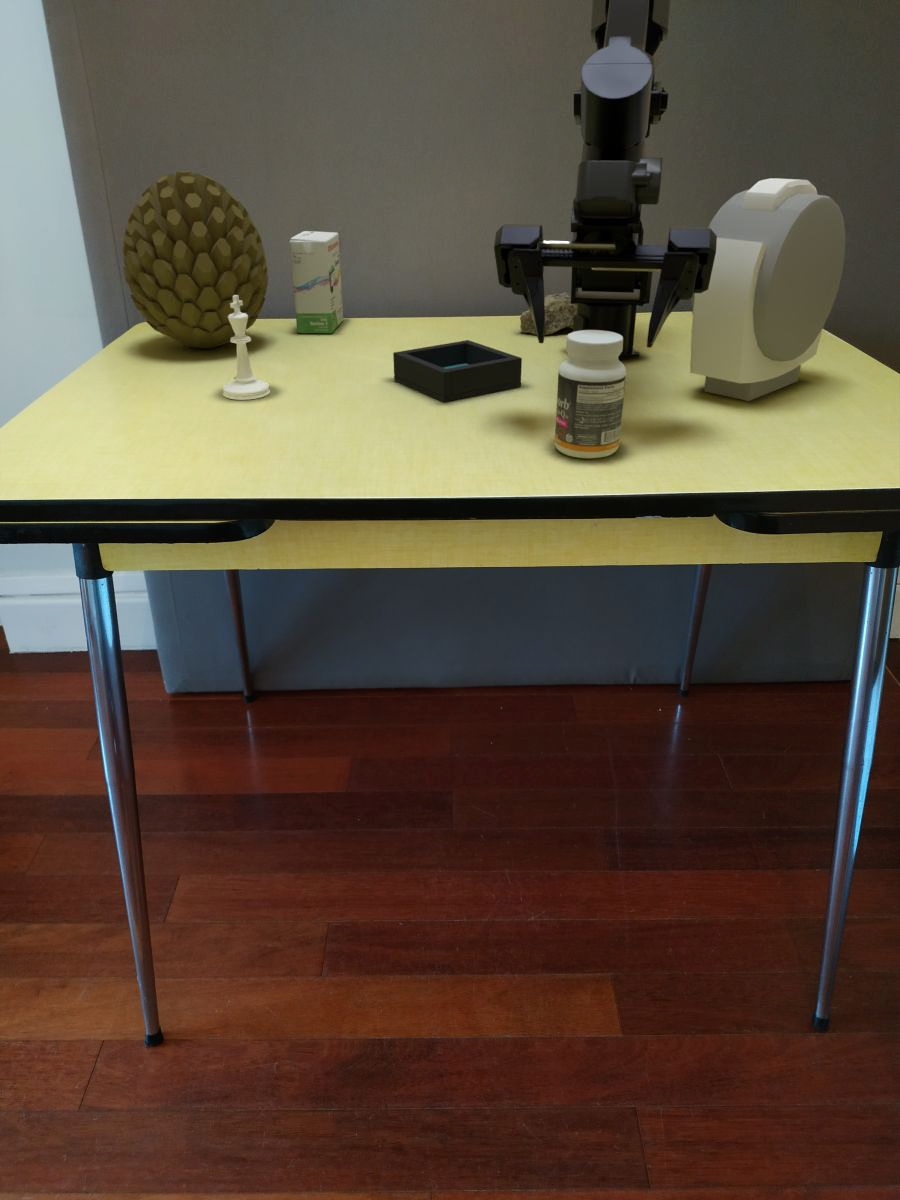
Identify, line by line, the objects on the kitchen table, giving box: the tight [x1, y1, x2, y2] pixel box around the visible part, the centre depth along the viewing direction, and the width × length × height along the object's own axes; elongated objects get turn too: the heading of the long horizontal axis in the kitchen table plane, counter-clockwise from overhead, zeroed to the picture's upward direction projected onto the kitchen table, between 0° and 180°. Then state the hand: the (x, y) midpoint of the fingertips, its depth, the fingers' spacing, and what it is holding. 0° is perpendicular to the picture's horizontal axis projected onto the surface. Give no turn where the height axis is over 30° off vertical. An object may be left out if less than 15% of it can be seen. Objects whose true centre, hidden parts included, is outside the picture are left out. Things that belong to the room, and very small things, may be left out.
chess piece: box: [222, 295, 271, 401], centre depth 94 cm, size 5×5×10 cm
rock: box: [519, 291, 578, 336], centre depth 120 cm, size 7×8×4 cm
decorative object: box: [122, 170, 269, 350], centre depth 110 cm, size 17×17×20 cm
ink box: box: [289, 230, 344, 334], centre depth 121 cm, size 8×5×12 cm, turn 175°
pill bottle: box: [554, 330, 627, 459], centre depth 78 cm, size 6×6×10 cm
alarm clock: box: [689, 177, 846, 402], centre depth 93 cm, size 18×8×20 cm, turn 135°
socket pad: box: [392, 339, 523, 403], centre depth 99 cm, size 10×10×3 cm
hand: (594, 342), depth 78 cm, fingers open, 9 cm apart
